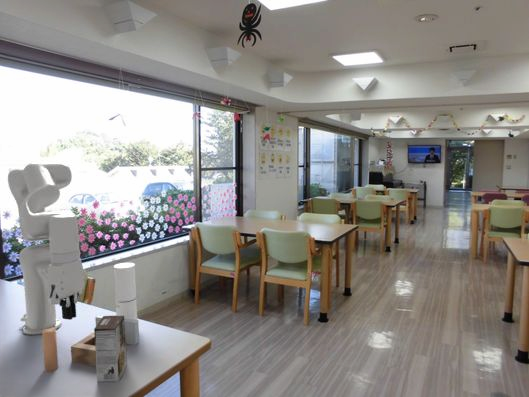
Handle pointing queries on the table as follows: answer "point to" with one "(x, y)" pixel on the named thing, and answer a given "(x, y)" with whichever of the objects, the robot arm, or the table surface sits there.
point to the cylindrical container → (125, 290)
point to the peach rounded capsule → (50, 349)
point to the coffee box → (110, 348)
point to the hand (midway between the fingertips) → (69, 317)
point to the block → (84, 351)
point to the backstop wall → (127, 330)
